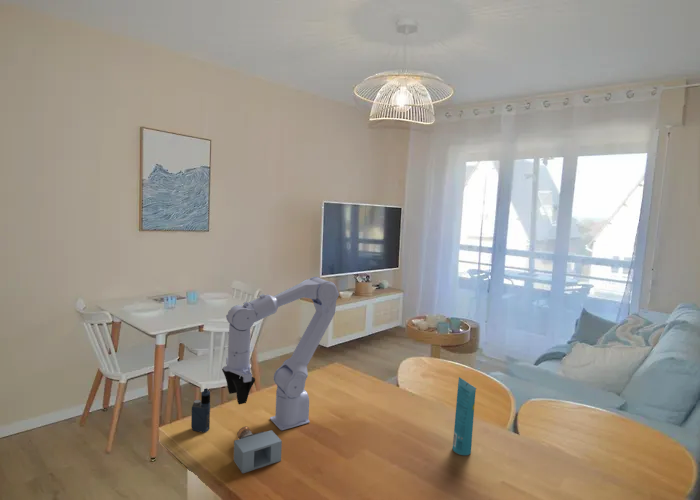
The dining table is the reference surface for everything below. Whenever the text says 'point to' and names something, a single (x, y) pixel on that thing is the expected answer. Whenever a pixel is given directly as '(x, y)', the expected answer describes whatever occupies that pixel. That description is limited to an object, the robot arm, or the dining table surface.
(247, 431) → the peg
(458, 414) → the tube
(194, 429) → the vaping device
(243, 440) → the sleeve block
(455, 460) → the dining table surface
